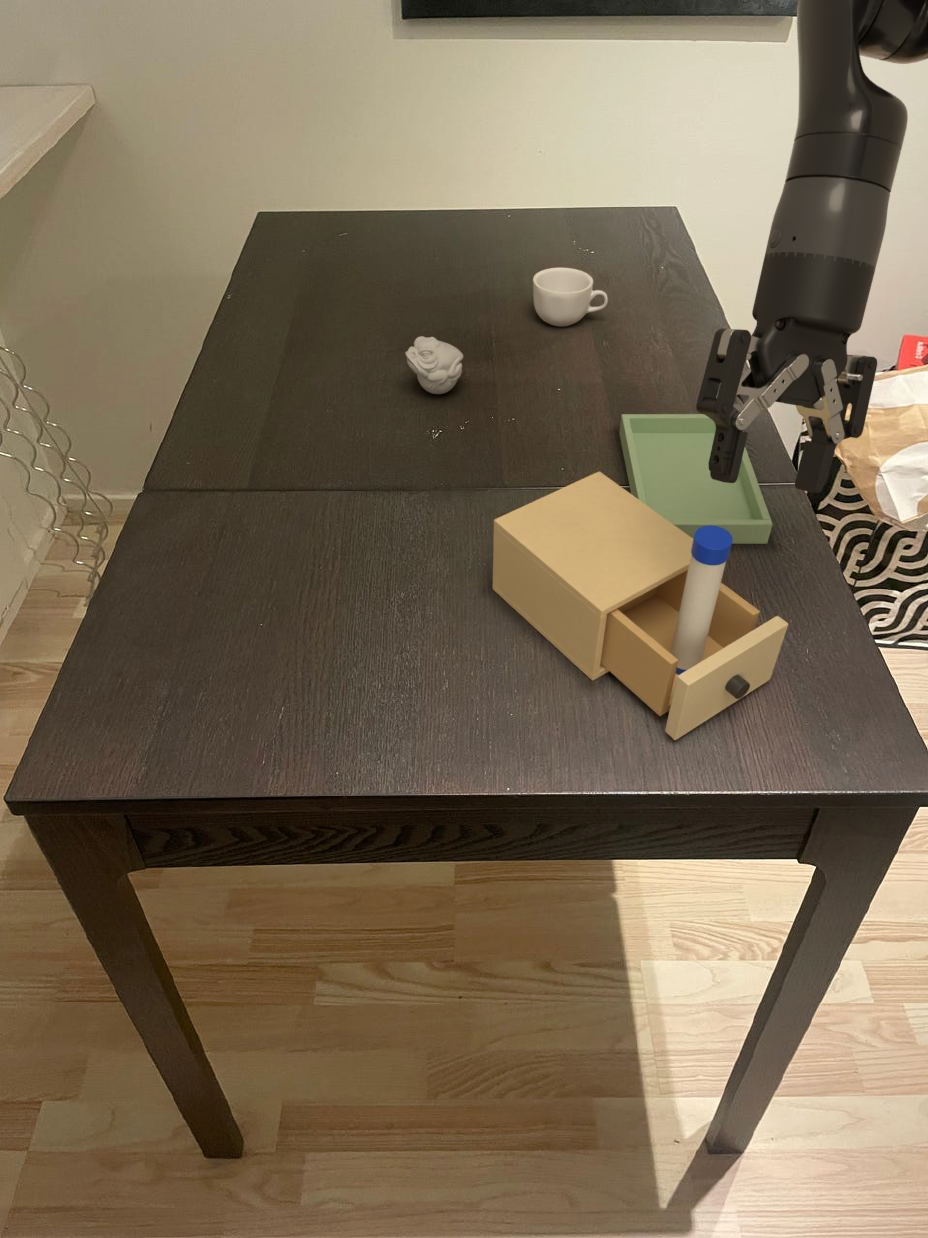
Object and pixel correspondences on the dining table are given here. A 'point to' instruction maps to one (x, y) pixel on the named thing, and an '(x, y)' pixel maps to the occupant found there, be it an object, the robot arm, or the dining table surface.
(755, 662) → the drawer
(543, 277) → the teacup
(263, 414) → the dining table surface
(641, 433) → the tray
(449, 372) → the frog figurine
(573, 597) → the cabinet
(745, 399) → the robot arm
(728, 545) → the marker
